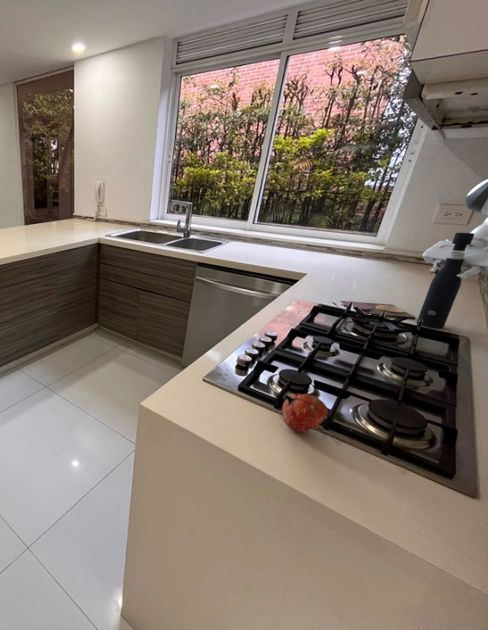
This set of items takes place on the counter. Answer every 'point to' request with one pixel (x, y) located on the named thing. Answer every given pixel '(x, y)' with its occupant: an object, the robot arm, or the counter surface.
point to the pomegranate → (303, 412)
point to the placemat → (387, 310)
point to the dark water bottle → (445, 285)
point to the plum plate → (358, 305)
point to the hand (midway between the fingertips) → (445, 275)
